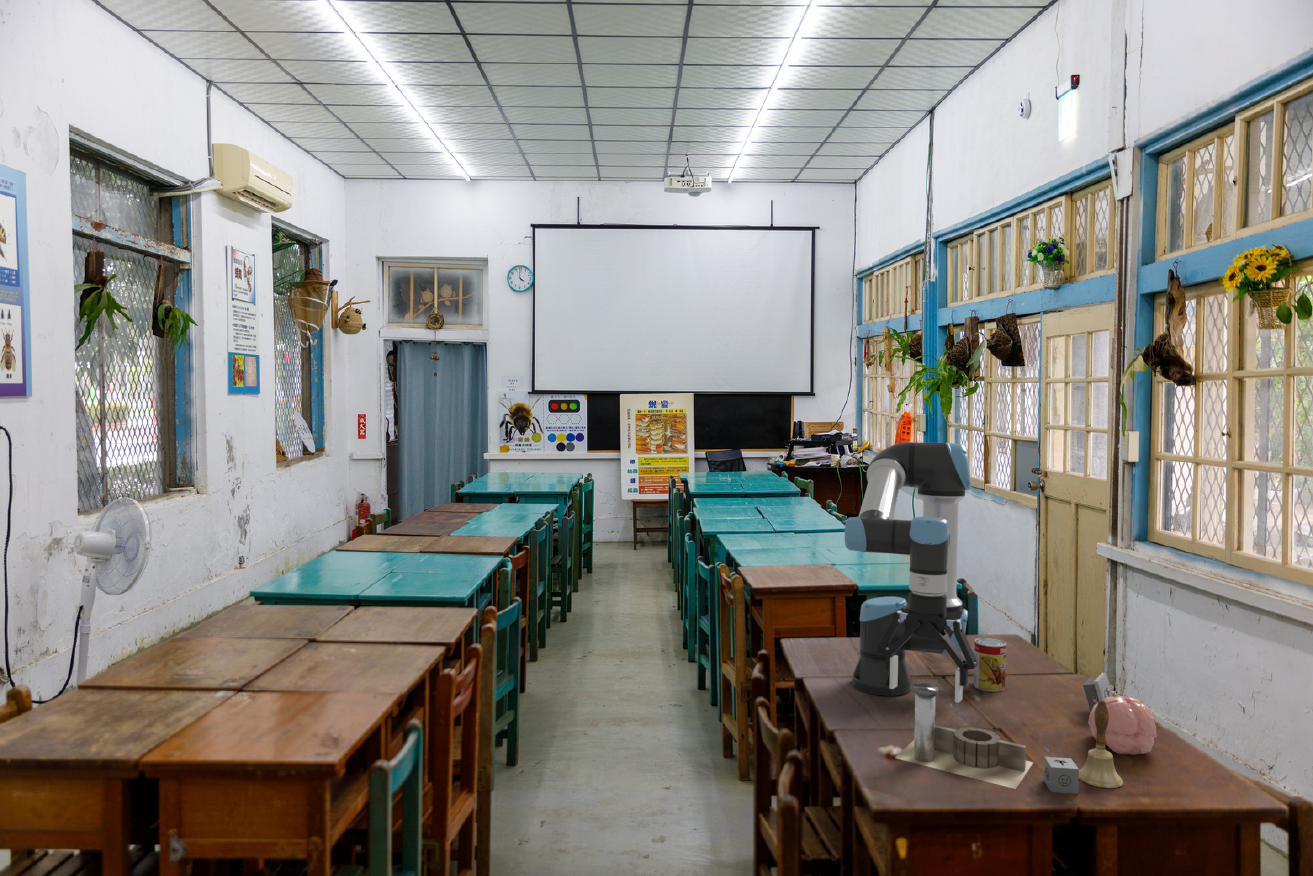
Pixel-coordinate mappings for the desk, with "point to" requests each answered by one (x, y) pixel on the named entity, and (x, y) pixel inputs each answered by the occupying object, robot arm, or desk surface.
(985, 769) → the hinge board
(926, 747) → the pin
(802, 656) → the desk surface
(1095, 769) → the hand bell
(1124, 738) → the brain
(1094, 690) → the electrical switch
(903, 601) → the robot arm
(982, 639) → the canned food
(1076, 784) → the dice cube
